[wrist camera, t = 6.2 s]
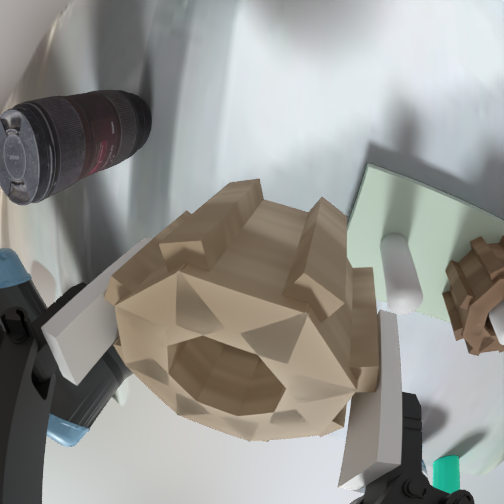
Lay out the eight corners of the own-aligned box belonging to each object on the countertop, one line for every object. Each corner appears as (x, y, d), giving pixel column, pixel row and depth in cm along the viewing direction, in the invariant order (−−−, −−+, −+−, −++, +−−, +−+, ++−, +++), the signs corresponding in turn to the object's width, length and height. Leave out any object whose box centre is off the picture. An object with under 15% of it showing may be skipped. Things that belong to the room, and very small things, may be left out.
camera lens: (161, 158, 30) (48, 212, 17) (105, 159, 32) (0, 207, 19) (157, 81, 26) (31, 95, 13) (99, 92, 28) (-15, 116, 15)
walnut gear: (437, 320, 27) (446, 362, 22) (448, 237, 23) (468, 272, 18) (510, 313, 24) (527, 350, 19) (529, 234, 20) (557, 265, 15)
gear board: (328, 275, 31) (317, 341, 23) (367, 162, 24) (377, 196, 16) (486, 325, 27) (507, 387, 19) (537, 238, 21) (580, 290, 13)
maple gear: (172, 319, 18) (120, 394, 13) (181, 159, 13) (84, 211, 8) (328, 371, 16) (311, 464, 11) (403, 223, 11) (436, 322, 6)
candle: (448, 453, 41) (449, 504, 31) (463, 457, 41) (464, 504, 31) (427, 464, 44) (425, 512, 34) (443, 467, 44) (442, 513, 34)
